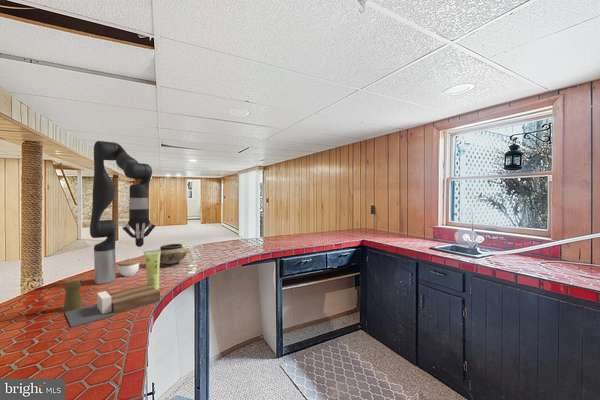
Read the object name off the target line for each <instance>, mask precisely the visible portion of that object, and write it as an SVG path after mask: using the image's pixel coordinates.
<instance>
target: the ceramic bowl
mask: <svg viewBox="0 0 600 400" xmlns="http://www.w3.org/2000/svg"><path fill="white" fill-rule="evenodd" d="M154 250H161V253H160V263H162V264H163V266H165V267H175V266H178V265H180V263H181V261H182V260H184V259H185V257H186V256H187V254H188V253H191V252H192V249H190V248H185V247H183V244H181V243H169V244H163V245H161V246H160V248H158V249H152V251H154Z"/></svg>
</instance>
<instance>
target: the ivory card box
mask: <svg viewBox="0 0 600 400" xmlns="http://www.w3.org/2000/svg"><path fill="white" fill-rule="evenodd" d="M109 294H110V293H108V291H106V290H104V291H101V292H97V293H96V304H97V308H98V309H99V310H100V312H101V313H102V314H104V313H108V312H111V311H112V305H111V296H110V295H109Z"/></svg>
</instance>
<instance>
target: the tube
mask: <svg viewBox="0 0 600 400" xmlns="http://www.w3.org/2000/svg"><path fill="white" fill-rule="evenodd" d="M153 250H154V251H153ZM153 250H144V251H143V255H144V261H145V271H146V281H147V283H146V285H150V286H152V287H153V288H155V289H156V290H159V289H160V263H161V262H160V253H161V250H156V249H153Z"/></svg>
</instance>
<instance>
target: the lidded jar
mask: <svg viewBox="0 0 600 400" xmlns="http://www.w3.org/2000/svg"><path fill="white" fill-rule="evenodd" d="M116 265H117V270H118V272H119V274H120V275H121V276H122V277H132V276H134V275H136V273H137V272H138V270H139V267H140V259H136V258H135V259H134V258H133V259H132V258H131V259H130V258H127V259H125V260H121V261H118V262H117V264H116Z"/></svg>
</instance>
